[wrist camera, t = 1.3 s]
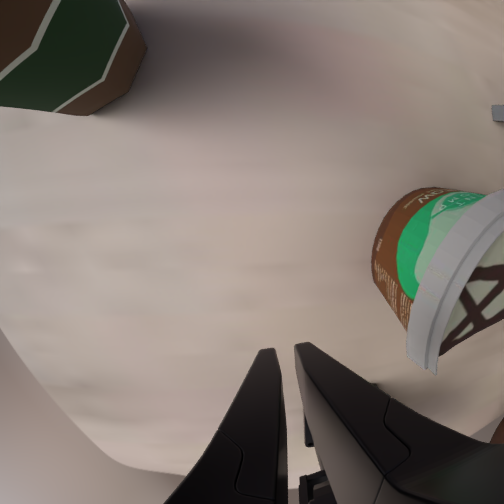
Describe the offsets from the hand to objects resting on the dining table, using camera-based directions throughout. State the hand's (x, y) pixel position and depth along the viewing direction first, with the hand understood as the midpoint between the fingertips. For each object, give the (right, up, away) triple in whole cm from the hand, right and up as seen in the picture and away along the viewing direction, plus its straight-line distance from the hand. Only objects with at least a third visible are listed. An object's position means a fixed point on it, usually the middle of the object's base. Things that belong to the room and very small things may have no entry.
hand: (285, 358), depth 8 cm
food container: (+11, +5, +12) cm, 17 cm away
